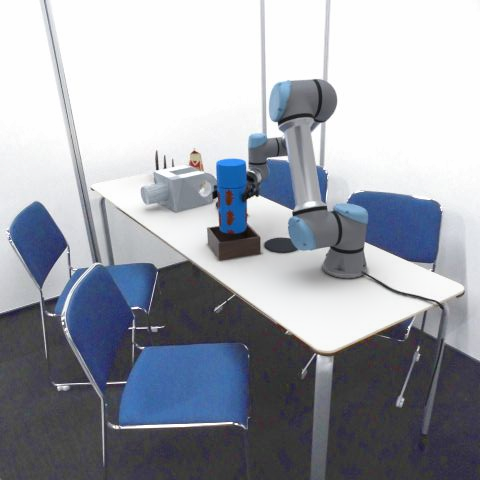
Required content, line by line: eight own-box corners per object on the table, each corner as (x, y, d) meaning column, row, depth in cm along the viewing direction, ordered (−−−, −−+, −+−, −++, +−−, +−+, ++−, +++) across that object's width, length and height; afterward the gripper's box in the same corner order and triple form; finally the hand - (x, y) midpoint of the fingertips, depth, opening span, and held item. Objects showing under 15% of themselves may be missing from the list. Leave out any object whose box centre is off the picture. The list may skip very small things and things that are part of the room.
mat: (305, 249, 183) (305, 248, 183) (272, 255, 180) (272, 253, 180) (291, 236, 195) (291, 235, 194) (259, 241, 191) (259, 240, 191)
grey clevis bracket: (198, 191, 247) (196, 162, 239) (218, 201, 234) (217, 170, 226) (138, 206, 230) (133, 175, 222) (156, 216, 217) (152, 184, 209)
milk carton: (204, 187, 254) (202, 148, 243) (187, 187, 254) (184, 149, 243) (206, 182, 262) (203, 144, 251) (189, 182, 262) (186, 145, 251)
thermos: (244, 234, 175) (242, 166, 162) (216, 233, 177) (212, 165, 164) (249, 224, 184) (248, 158, 171) (222, 222, 186) (220, 158, 173)
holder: (260, 254, 181) (260, 237, 177) (219, 260, 177) (218, 243, 173) (246, 238, 194) (246, 222, 191) (207, 243, 190) (206, 227, 186)
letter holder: (157, 182, 263) (154, 156, 255) (158, 172, 279) (155, 148, 271) (175, 181, 263) (172, 155, 256) (174, 172, 280) (172, 147, 272)
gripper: (276, 192, 186) (258, 210, 169) (222, 187, 193) (199, 204, 176) (277, 173, 182) (258, 190, 165) (222, 168, 189) (198, 184, 172)
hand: (227, 197), depth 171 cm, fingers closed on thermos, 11 cm apart
